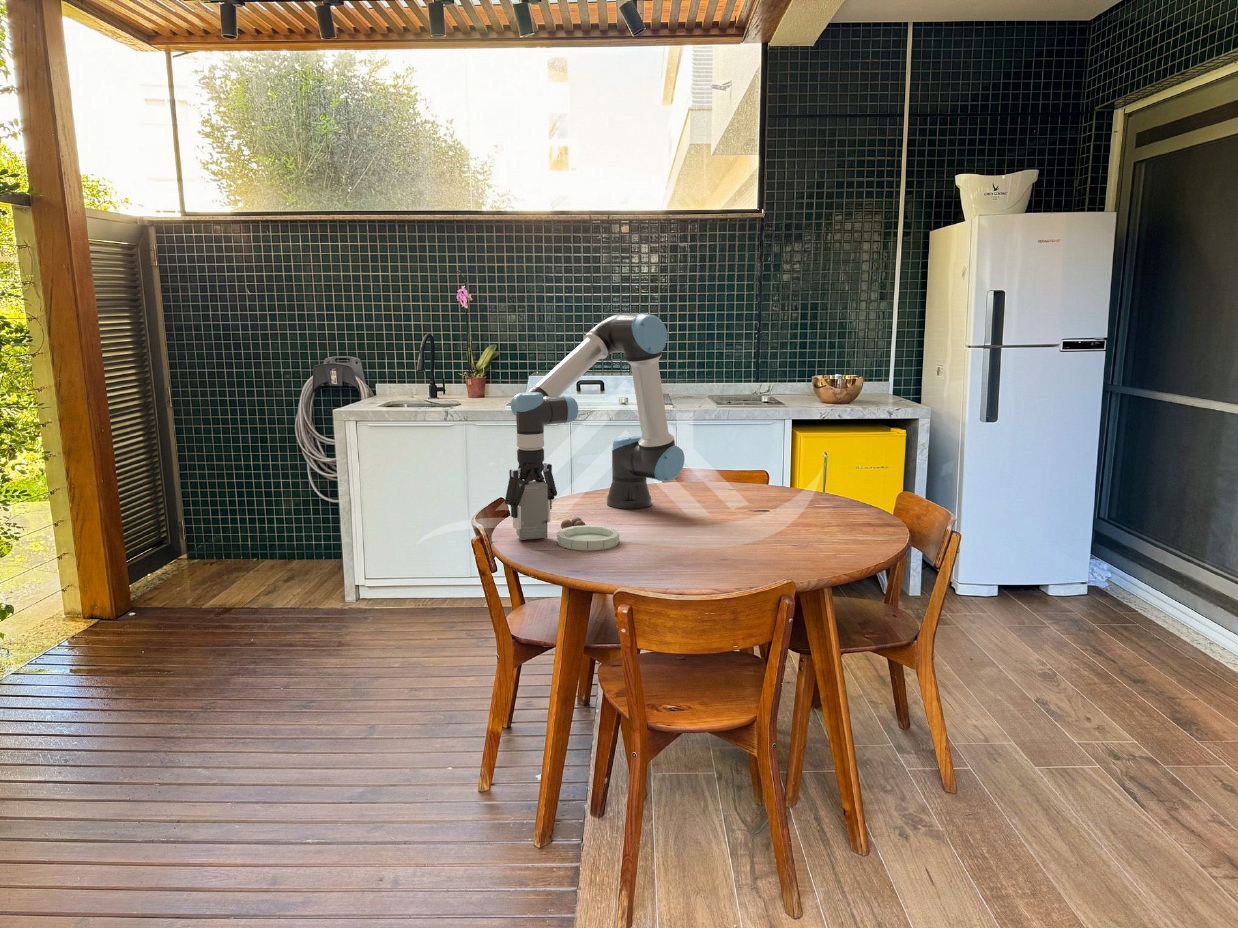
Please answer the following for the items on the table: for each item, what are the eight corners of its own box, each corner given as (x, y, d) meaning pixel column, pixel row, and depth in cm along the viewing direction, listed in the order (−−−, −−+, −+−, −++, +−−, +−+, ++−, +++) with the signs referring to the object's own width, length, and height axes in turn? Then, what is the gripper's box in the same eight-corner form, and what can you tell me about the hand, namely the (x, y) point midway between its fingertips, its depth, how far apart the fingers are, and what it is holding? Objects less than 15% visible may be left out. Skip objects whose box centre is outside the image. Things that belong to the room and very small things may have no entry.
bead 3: (580, 530, 248) (580, 518, 247) (588, 532, 245) (588, 520, 245) (571, 532, 245) (571, 520, 245) (579, 534, 243) (579, 522, 242)
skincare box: (519, 540, 233) (518, 485, 230) (515, 534, 240) (514, 480, 237) (549, 538, 236) (548, 483, 233) (544, 531, 242) (543, 478, 239)
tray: (588, 531, 246) (588, 522, 246) (630, 542, 235) (630, 532, 234) (545, 542, 234) (545, 532, 234) (587, 554, 223) (587, 544, 222)
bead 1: (567, 529, 249) (567, 517, 248) (575, 531, 246) (575, 519, 246) (558, 531, 246) (558, 519, 246) (566, 533, 244) (566, 521, 243)
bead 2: (577, 527, 252) (577, 515, 251) (585, 529, 249) (585, 517, 249) (568, 529, 249) (568, 517, 248) (576, 531, 247) (576, 519, 246)
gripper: (551, 441, 244) (552, 515, 248) (489, 451, 227) (492, 529, 232) (569, 444, 239) (570, 519, 243) (507, 454, 222) (509, 534, 226)
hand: (532, 524), depth 237 cm, fingers closed on skincare box, 10 cm apart
